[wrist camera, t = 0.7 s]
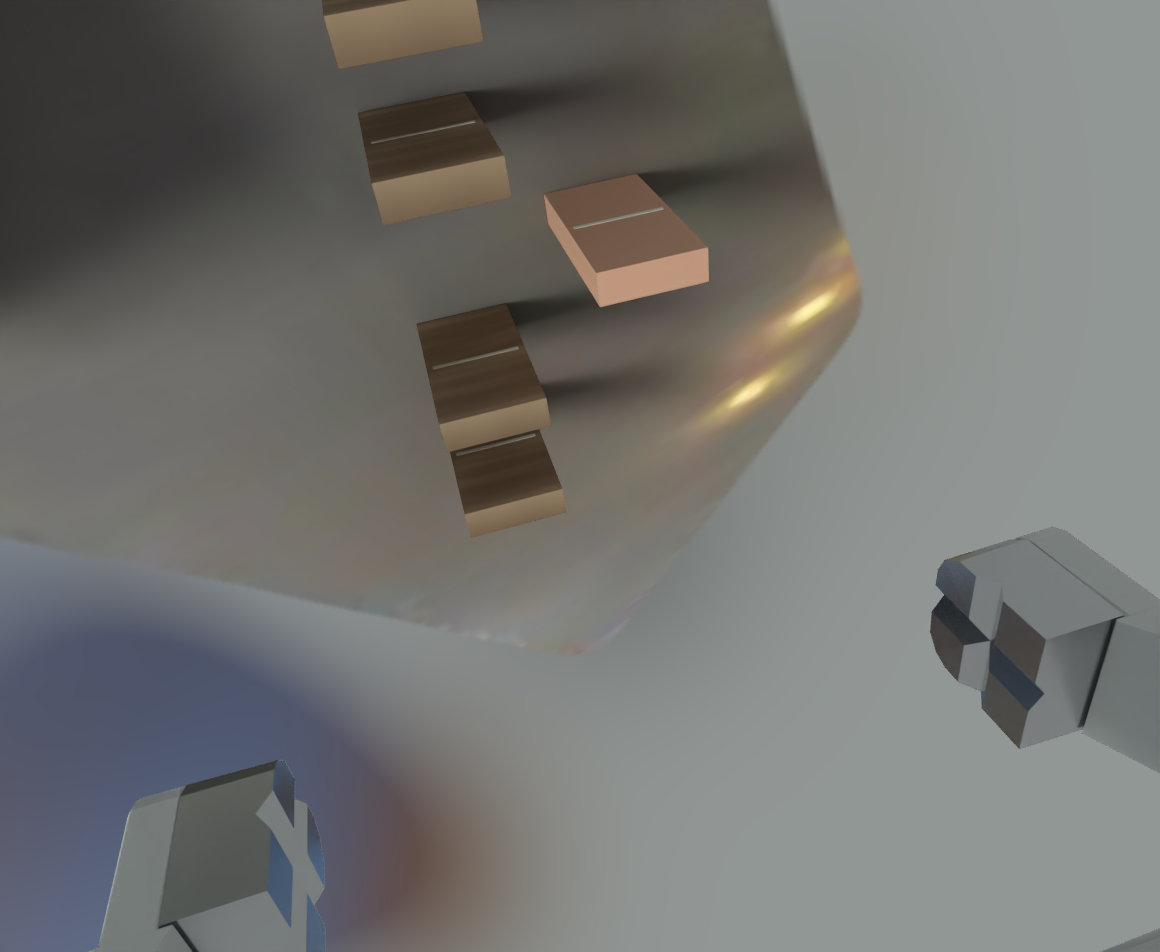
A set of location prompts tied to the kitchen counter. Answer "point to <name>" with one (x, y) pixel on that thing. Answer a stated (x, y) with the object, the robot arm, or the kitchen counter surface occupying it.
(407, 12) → the domino
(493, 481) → the domino
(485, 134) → the domino
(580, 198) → the domino
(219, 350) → the kitchen counter surface
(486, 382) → the domino
